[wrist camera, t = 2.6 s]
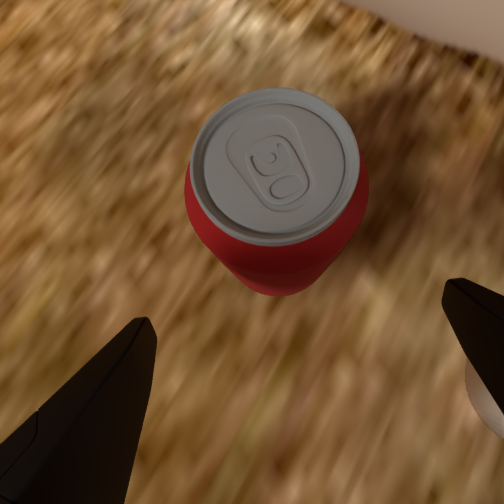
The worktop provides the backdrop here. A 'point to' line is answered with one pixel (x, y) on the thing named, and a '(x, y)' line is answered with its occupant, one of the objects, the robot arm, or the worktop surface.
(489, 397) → the sugar jar
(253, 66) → the worktop surface
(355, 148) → the beverage can
